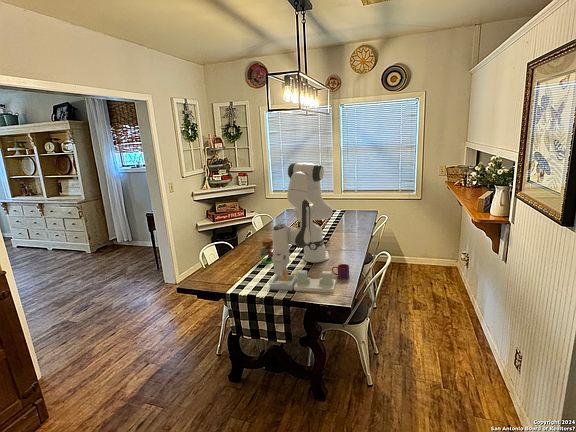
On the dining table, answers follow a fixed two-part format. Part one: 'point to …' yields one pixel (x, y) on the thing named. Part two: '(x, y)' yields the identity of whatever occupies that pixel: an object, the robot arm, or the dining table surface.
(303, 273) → the green fuse
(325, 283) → the green fuse
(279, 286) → the tray
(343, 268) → the mug
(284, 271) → the orange fuse
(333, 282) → the fuse holder
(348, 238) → the dining table surface
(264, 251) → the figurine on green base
